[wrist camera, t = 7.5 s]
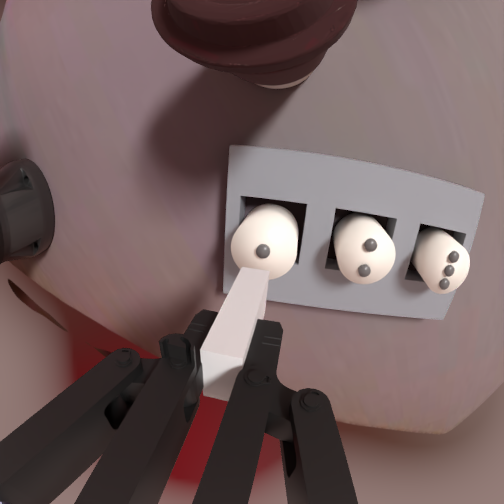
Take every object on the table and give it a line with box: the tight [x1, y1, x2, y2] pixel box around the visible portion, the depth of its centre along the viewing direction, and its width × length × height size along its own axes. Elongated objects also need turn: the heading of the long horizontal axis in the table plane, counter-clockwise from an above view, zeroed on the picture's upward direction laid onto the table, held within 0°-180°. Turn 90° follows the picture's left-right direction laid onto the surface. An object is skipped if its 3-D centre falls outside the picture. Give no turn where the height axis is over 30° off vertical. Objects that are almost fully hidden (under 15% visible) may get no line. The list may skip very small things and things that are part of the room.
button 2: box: [333, 213, 396, 284], centre depth 22 cm, size 5×5×5 cm
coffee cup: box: [151, 0, 358, 89], centre depth 13 cm, size 10×10×15 cm
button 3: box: [411, 227, 470, 294], centre depth 21 cm, size 5×5×5 cm
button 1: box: [231, 204, 299, 280], centre depth 22 cm, size 5×5×5 cm
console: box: [223, 145, 485, 320], centre depth 24 cm, size 24×14×2 cm, turn 86°
